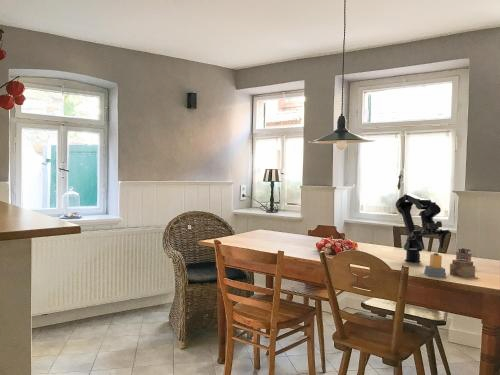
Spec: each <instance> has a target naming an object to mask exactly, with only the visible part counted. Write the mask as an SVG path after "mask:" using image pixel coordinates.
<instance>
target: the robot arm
mask: <svg viewBox="0 0 500 375" xmlns="http://www.w3.org/2000/svg"><path fill="white" fill-rule="evenodd" d="M413 205H415V208H416V209H417V210H420V212H419V213H418V216H419V217H420V220H421V227H422V230H423V231H422V230H421V229H416V227H415V223H414V220H413V217H412V213H411V211H412V209H413V207H412V206H413ZM395 208H396V210H397V211H398V213H399V214H400V215H401V216H402V219H403V224H404V227H405V231H406V233H407V237H406V242H405V243H404V245H403V250H404V251H406V252H405V253H406V256H405V257H406V258H405V259H404V261H406V262H409V263H414V264H415V263H420V262H421V258H420V257H421V254H420V252H423V251H424V250H425V244H424V239H423V236H438V242H439V247H440V249H441V250H442V249H444V242H445V239H446V238H447V237H448V236H449V235H450V234H451V233H450V232H451V231H450V230H449V228H442V227H443V224H442V220H440V221H439V220H438V221H436V222H435V220H434V218H435V217H436V216H437V215H440V213H441V207H440V206H439V205H438V204H437V202H435V201H432V199H431V198H430V199H429V198H421V197H419V196H417V195H414V194H413V193H404V195H402V196H401V197H400V198H398V199H397V201H396V202H395ZM440 228H441V229H440ZM437 230H438V231H437Z"/></svg>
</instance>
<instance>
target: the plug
mask: <svg viewBox="0 0 500 375" xmlns="http://www.w3.org/2000/svg"><path fill="white" fill-rule="evenodd" d="M429 257H430V258H429V266H430V267H431V268H440V269H441V267H442V260H443V259H442V257H443V256H442V255H440V254H439V253H437V252H433V253H431V254H430V255H429Z"/></svg>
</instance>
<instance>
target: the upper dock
mask: <svg viewBox="0 0 500 375" xmlns="http://www.w3.org/2000/svg"><path fill="white" fill-rule="evenodd" d="M449 274H450V275H454V276H458V277H461V278H468V277H475V276H476V265H474V261H472V260H471V261H468V260H463V259H458V260H456V259H452V262H451V263H449Z"/></svg>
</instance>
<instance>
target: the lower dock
mask: <svg viewBox="0 0 500 375" xmlns="http://www.w3.org/2000/svg"><path fill="white" fill-rule="evenodd" d="M424 274H425V275H427V276H428V277H429V278H447V273H446V268H445V267H442V266H441V269H440V268H431V267H430V264H429V265H425V269H424Z"/></svg>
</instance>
